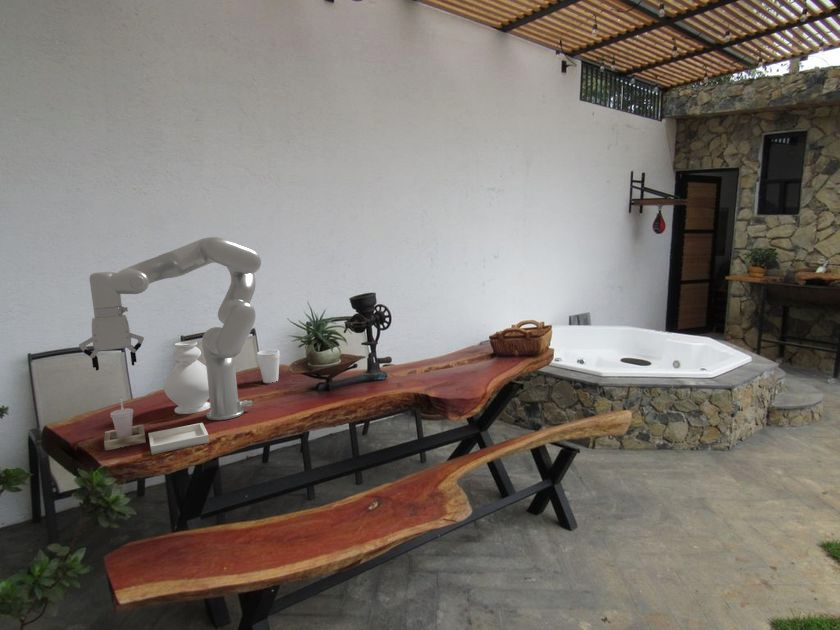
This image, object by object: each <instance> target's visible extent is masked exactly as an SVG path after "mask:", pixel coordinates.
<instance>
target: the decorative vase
mask: <svg viewBox="0 0 840 630" xmlns="http://www.w3.org/2000/svg"><path fill="white" fill-rule="evenodd" d="M196 345H198V341H195V340H186V341H185V340H184V341H179V342H176V343H174V347H176V350H174V351H173V354H172V357H173V359H175V361H177V363H176V364H175V366H174V367H173V368H172V369H170V372H169V373H168V375H167V376H166V378H165V380H164V383H163V390H164V394H165V395H166V397H167V398H168V399H170V401H172V402H173V403H174V404H175V405H177V406H176V407H175V408H174V413H175V414H179V415H189V414H196V413H197V414H198V413H201V412H205V411H206V410H209V409H210V401H209V402H208V400H210V399H209V389H208V379H207V369H206V364H204V363H203V362H201V361H199V360H198V359H199V357H201V355H202V351H201V349H200V348H199V347H197V346H196Z"/></svg>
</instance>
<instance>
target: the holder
mask: <svg viewBox="0 0 840 630" xmlns="http://www.w3.org/2000/svg"><path fill="white" fill-rule="evenodd" d="M103 436H104V439H103V442H104V443H103V444H104V451H110V450H115V449H119V448H120V447H121V448H124V447H125V446H126V447H130V445H131V446H135V445H139V444H140V445H141V444H145V443H146V442H147V441H146V433H145V426H144V424H137V425H134V426H133V425H132V436H128V437H123V438H118V437H117V434H116V430H115V429H112V430H106V431H104V435H103Z"/></svg>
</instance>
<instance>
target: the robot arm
mask: <svg viewBox="0 0 840 630" xmlns="http://www.w3.org/2000/svg"><path fill="white" fill-rule="evenodd" d="M261 259H262V258H261V257H260V255H259V253H257V252H256V251H255V250H253V249H251V248H248V247H246V246H243V245H240V244H237V243H235V242H232V241H230V240H227V239H224V238H222V237H217V236H216V237H215V236H212V237H203V238H201V239H198V240H195V241H193V242H190V243H188V244H186V245H184V246H181V247H178V248H175V249H172V250H170V251H168V252H164V253H162V254H159V255H157V256H155V257H152V258H150V259H146V260H144V261H141V262H138V263H136V264H133V265H130V266H128V267H125V268H123V269H121V270H120V271H118V272H114V271H102V272H101V271H99V272H93V273H91V274H90V275H89V284H90V285H89V286H90V287H89V288H90V292H91V301H92V302H91V303H92V309H93V315H94V317H92V319H91V337H90V338H88V339H86V340H84V341H83V342H81V343H79V345H78V347H79V348H80V350H81V351H82V352H83V354H85V355H87V356H89V357H90V358H91V362H92V368H93V369H94V368H95V371H99V369H100V366H99V358H98V356H97V355H98V354H99V352H101V351H102V352H103V351H109V350H111V351H112V350H121V349H127V350H129V351H130V362H131V365H132V366H133V367H134V366H135V363H137V353H136V352H137V351H138V350H139V349H140V348H141V347H142V344H143V342H144V340H145V338H144V336H141V335H139V334H135V333H132V332H131V330H130V325H129V320H128V317H127V315H126V314H124V313H126V312H128V311H129V310H128V309H129V308H128V306H127V307H125V306H123V305H122V298H121V297H122V296H121V295H139V294H142V293H144V292H145V291H147V289H148V288H149V285H150V284H153V283H155V282H158V281H161V280H165V279H172V278H173V279H175V278H177V277H181V276H184V275H186V274H189V273H190V272H193V271H195V270H197V269H200V268H203V267H205V266H207V265H210V264H212V263H213V264H214V263H217V264H218V265H221V266H223V267H226V268H227V270H228V272H229V275H230V284H229V287H228V290H227V292H226V294H225V296H224V299H223V301H222V303H220V306H219V308H218V311H217V318H218V320H219V321H220V322H221V323H222V327H221V326H219V327H218V326H217V327H215V326H214V327H211V328H209V329H208V330H206V331H205V332H204V334H203V335H202V339H201V348H202V351H203V356H204V361H205V366H206V369H207V379H208V389H209V399H208V400H209V403H210V408H209V409H210V410H208V412H207V413H206V419H208V420H210V421H223V420H224V421H225V420H230V419H235V418H237V417H240V416H242V415H243V414H244V413H245V412H244V410H245V409H244V408H245V407H250V406H251V407H252V406H253V401H252V400H247V399H245V400H240V399H239V394H238V384H237V383H238V382H237V372H236V370H237V369H236V363H235V357H236V356H238V355H239V354H240V353H241V352H242V350H243V348H244V347H245V344H246V343H247V341H248V337H249V336H250V334H251V331H252V329H253V327H254V325H255V322H256V310H255V308H254V306H253V305H252V304H251V301H252V299H253V296H254V293H255V291H256V285H257V284H256V283H257V282H256V278H255V273H256V272H258V271H259V269H260V268H261V265H262V260H261ZM132 339H135V340H137V342H136V344H135V345H132ZM90 344H92V347H93V350H90V349H88V347H87V346H88V345H90Z"/></svg>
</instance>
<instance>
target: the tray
mask: <svg viewBox="0 0 840 630" xmlns="http://www.w3.org/2000/svg"><path fill="white" fill-rule="evenodd" d="M147 434H148V441H149V447H150V453H151V455H152V456H153V455H157V454H158V455H159V454H162V453H166V452H170V451H175V450H180V449H186V448H190V447H194V446H199V445H200V446H201V445H203V444H209V443H210V437H209V433H208V430H207V429H206V427H205V424H204V423H203V422H199V423H194V424H193V423H192V424H190V425H184V426H178V427H173V428H168V429H161V430H158V431H157V430H156V431H153V432H148V433H147Z"/></svg>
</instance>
